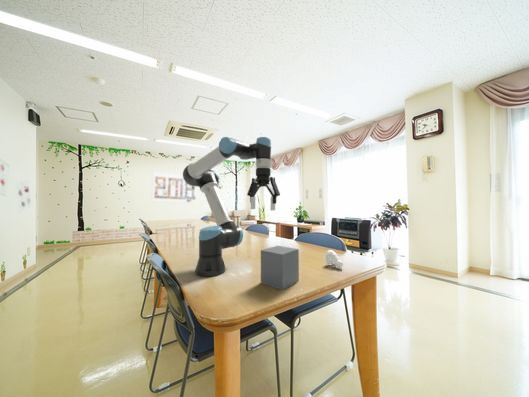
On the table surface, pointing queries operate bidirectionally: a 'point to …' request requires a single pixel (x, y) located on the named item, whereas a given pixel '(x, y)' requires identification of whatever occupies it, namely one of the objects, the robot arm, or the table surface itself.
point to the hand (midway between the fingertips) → (262, 209)
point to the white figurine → (333, 259)
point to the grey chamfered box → (279, 266)
